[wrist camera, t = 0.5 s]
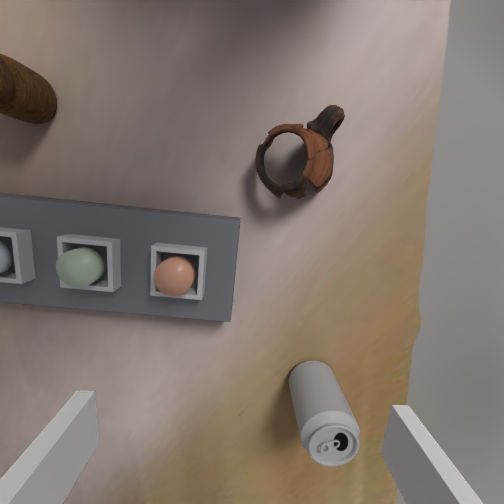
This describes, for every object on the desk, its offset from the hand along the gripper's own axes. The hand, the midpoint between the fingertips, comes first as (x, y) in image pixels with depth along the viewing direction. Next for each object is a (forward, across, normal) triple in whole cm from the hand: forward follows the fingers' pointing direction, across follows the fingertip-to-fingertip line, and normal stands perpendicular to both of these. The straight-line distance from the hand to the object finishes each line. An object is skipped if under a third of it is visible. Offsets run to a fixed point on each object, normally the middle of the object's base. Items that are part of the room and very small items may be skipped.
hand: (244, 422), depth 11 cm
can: (+26, +12, -19) cm, 35 cm away
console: (+26, -20, 0) cm, 33 cm away
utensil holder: (+26, -28, +19) cm, 43 cm away
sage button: (+21, -20, 0) cm, 28 cm away
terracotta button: (+20, -8, 0) cm, 22 cm away
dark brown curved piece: (+27, +6, +15) cm, 31 cm away
